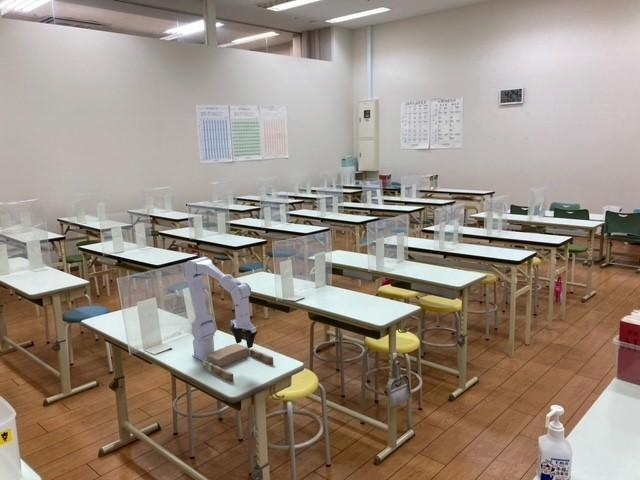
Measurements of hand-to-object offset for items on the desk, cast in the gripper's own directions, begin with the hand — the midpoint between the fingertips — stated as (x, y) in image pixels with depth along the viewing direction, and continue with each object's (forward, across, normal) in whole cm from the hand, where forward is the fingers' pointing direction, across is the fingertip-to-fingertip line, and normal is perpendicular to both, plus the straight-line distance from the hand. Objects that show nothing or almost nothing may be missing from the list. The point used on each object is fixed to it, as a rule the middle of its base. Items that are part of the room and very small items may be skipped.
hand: (244, 345), depth 204 cm
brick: (+7, -8, 0) cm, 11 cm away
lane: (+10, -5, 0) cm, 11 cm away
